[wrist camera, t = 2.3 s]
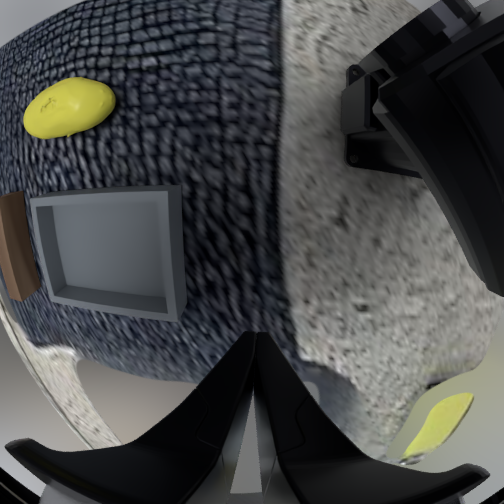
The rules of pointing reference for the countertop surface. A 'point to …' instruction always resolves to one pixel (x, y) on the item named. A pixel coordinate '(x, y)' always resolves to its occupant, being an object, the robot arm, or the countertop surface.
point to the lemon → (68, 108)
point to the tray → (114, 249)
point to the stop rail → (16, 248)
